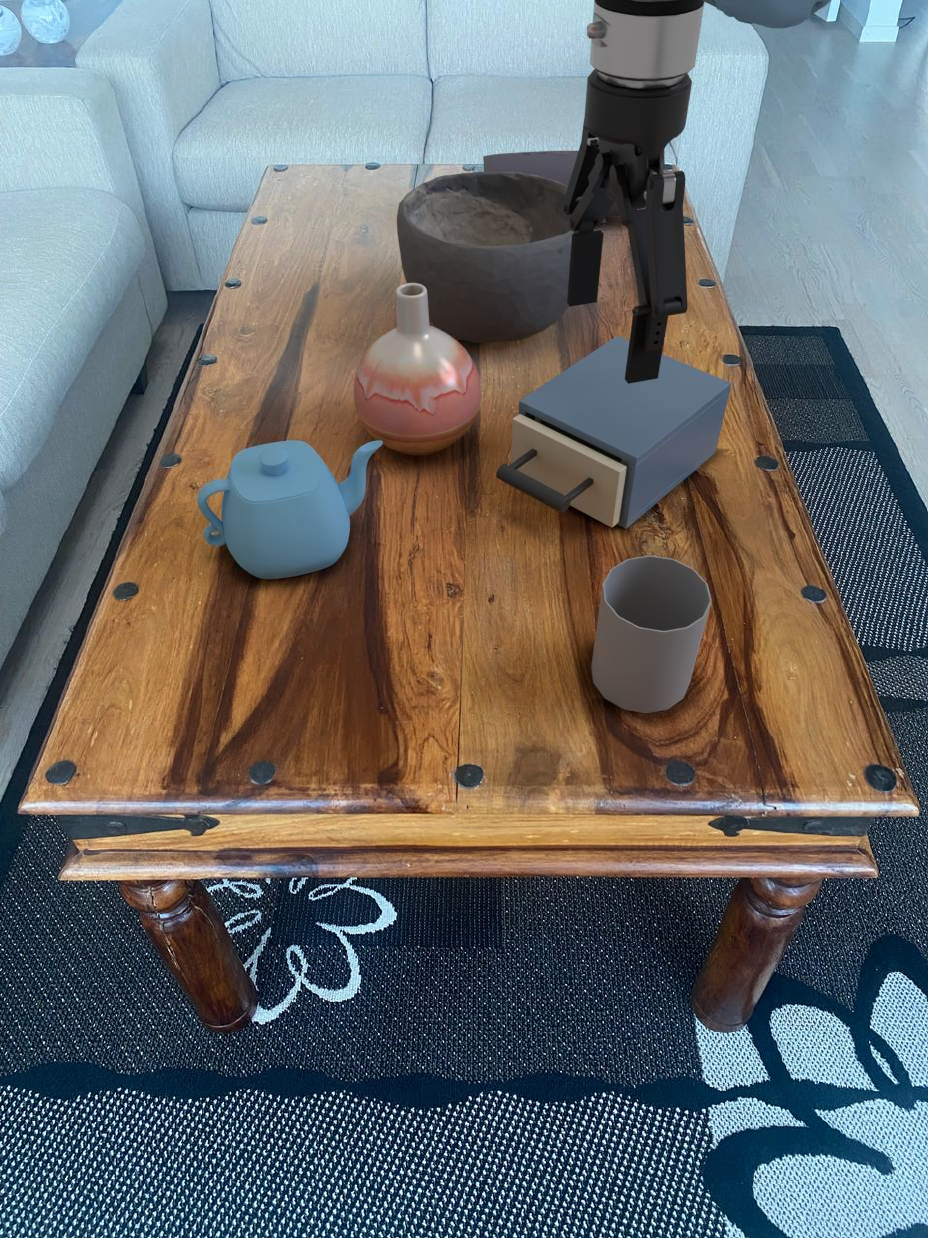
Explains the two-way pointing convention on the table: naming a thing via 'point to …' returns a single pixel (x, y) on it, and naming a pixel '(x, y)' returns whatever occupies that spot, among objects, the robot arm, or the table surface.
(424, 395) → the vase
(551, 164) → the bluetooth speaker
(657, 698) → the cup
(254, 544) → the teapot
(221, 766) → the table surface
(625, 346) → the cabinet
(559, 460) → the open pull-out drawer
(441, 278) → the bowl
